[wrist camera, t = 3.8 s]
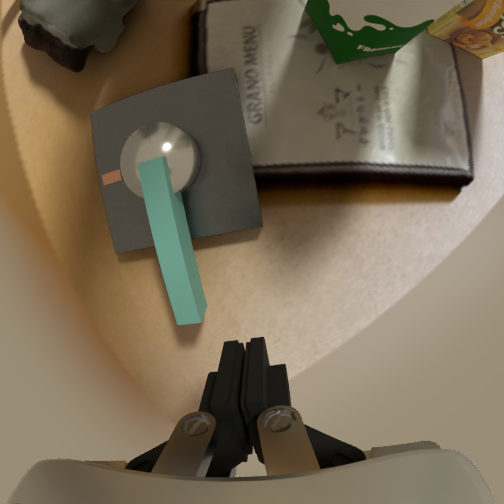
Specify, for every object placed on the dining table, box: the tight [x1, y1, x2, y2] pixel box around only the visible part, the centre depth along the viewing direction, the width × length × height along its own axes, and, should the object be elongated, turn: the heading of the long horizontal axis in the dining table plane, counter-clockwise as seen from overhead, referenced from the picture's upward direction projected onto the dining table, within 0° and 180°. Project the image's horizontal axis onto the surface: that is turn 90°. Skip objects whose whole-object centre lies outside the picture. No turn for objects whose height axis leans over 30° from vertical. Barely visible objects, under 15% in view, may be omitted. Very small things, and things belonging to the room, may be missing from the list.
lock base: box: [90, 68, 263, 254], centre depth 24 cm, size 14×14×2 cm
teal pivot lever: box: [120, 122, 207, 325], centre depth 22 cm, size 6×16×4 cm, turn 10°
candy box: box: [427, 0, 504, 59], centre depth 12 cm, size 9×4×15 cm, turn 88°
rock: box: [18, 0, 139, 72], centre depth 16 cm, size 18×11×8 cm, turn 50°
